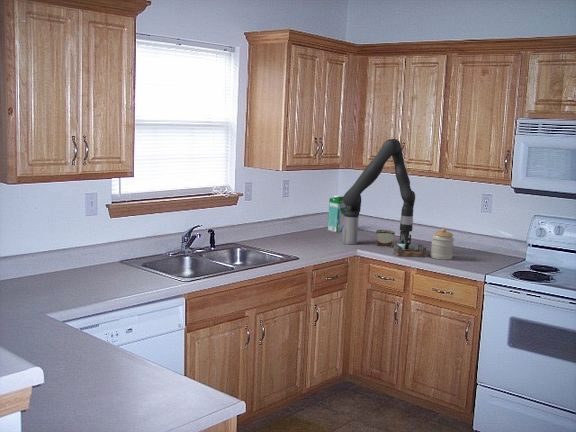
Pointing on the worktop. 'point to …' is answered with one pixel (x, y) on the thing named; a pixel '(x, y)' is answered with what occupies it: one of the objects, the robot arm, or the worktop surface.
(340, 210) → the milk carton
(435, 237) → the jar
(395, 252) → the holder
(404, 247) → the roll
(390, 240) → the food container
